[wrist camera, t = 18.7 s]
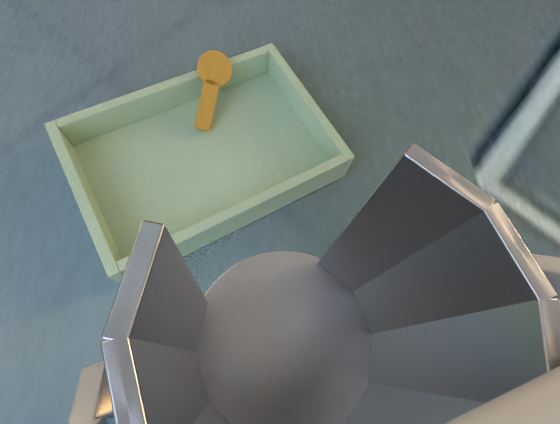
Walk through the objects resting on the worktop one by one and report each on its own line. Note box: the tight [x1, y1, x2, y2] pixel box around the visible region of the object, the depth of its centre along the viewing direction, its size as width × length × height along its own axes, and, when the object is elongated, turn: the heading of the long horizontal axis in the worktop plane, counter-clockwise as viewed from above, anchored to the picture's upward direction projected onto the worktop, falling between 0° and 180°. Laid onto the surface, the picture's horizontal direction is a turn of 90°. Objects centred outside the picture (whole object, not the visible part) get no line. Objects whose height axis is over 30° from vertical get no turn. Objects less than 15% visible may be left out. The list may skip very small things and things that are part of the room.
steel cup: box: [101, 142, 560, 424], centre depth 10 cm, size 7×7×9 cm
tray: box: [44, 43, 355, 284], centre depth 22 cm, size 15×10×2 cm
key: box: [194, 50, 232, 131], centre depth 23 cm, size 5×2×1 cm
